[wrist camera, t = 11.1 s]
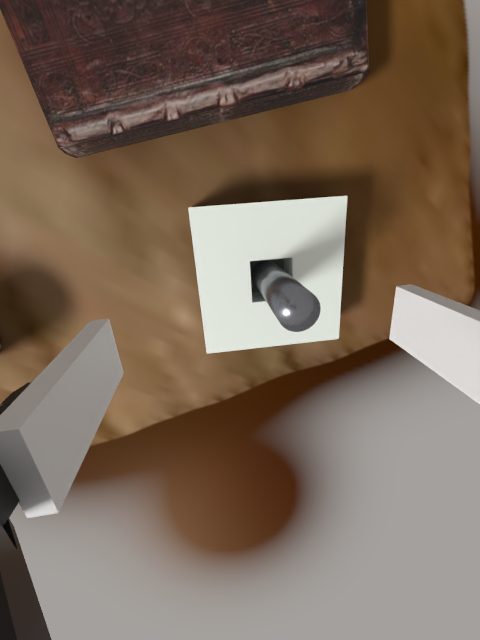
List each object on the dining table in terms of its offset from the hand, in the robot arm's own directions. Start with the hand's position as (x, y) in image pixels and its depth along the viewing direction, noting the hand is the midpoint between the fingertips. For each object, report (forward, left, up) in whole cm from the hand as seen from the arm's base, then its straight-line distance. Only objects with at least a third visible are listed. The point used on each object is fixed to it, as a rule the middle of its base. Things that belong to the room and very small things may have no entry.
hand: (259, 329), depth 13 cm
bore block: (+3, +4, -23) cm, 24 cm away
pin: (+3, +4, -22) cm, 23 cm away
